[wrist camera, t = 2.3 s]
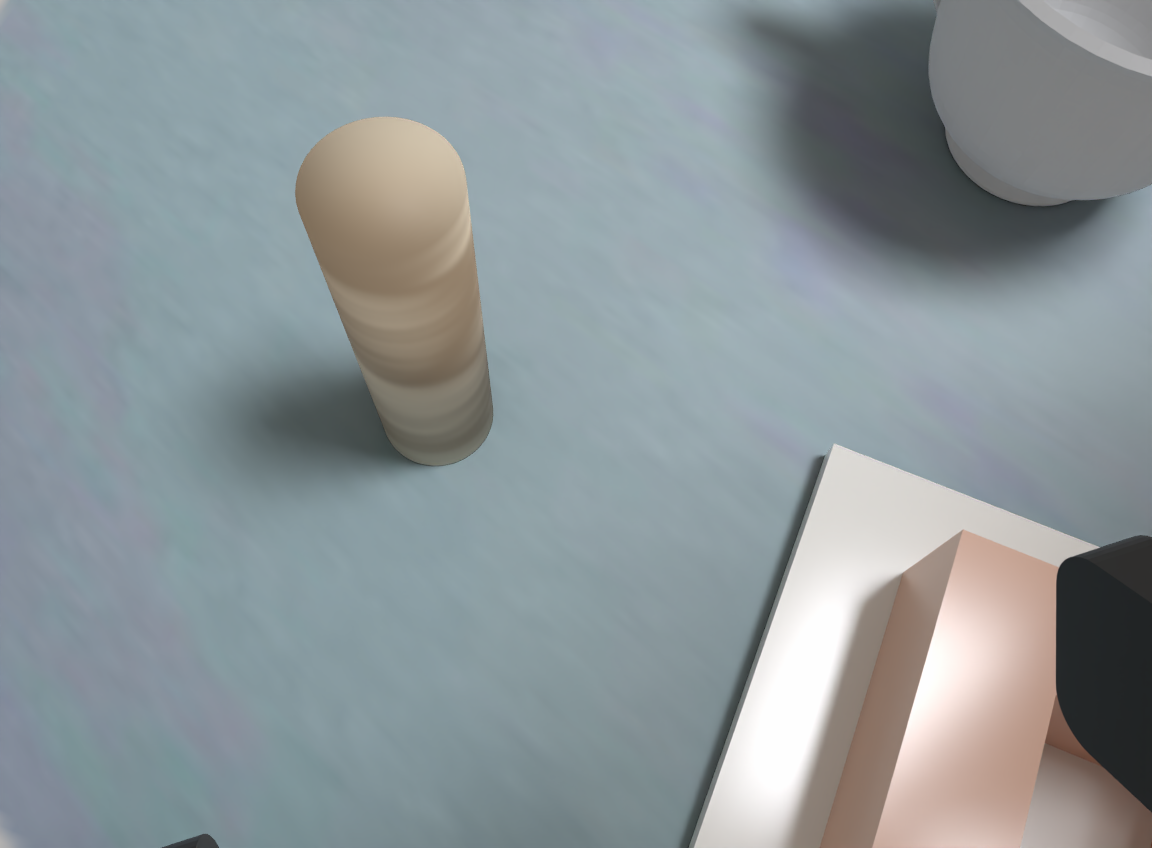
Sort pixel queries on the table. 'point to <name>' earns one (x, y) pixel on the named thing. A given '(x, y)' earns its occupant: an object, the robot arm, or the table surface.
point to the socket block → (912, 685)
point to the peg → (403, 279)
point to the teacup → (1046, 95)
